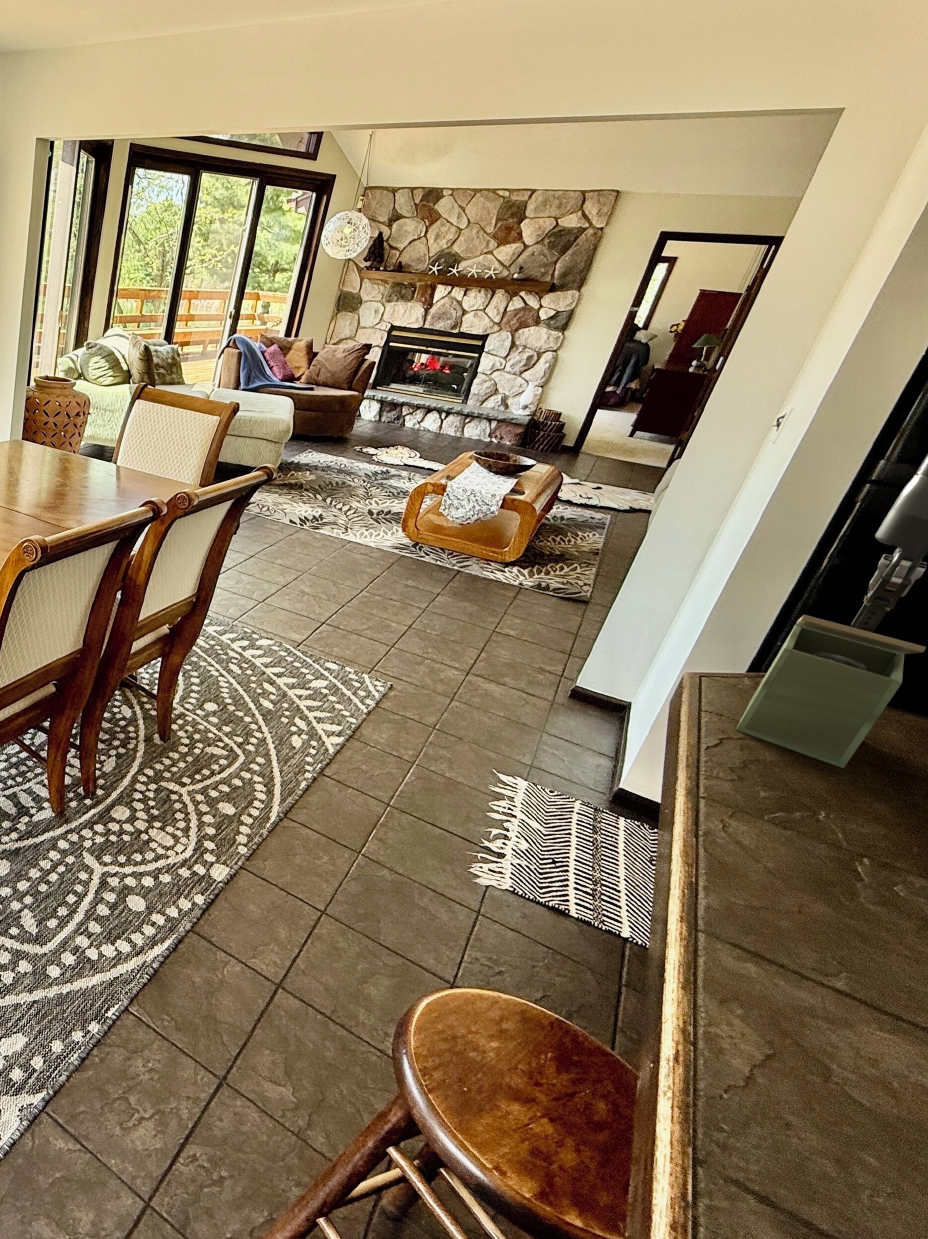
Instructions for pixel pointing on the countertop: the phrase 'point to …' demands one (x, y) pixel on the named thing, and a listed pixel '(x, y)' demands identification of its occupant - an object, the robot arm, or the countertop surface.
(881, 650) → the chest
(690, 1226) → the countertop surface
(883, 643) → the lid
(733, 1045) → the countertop surface
